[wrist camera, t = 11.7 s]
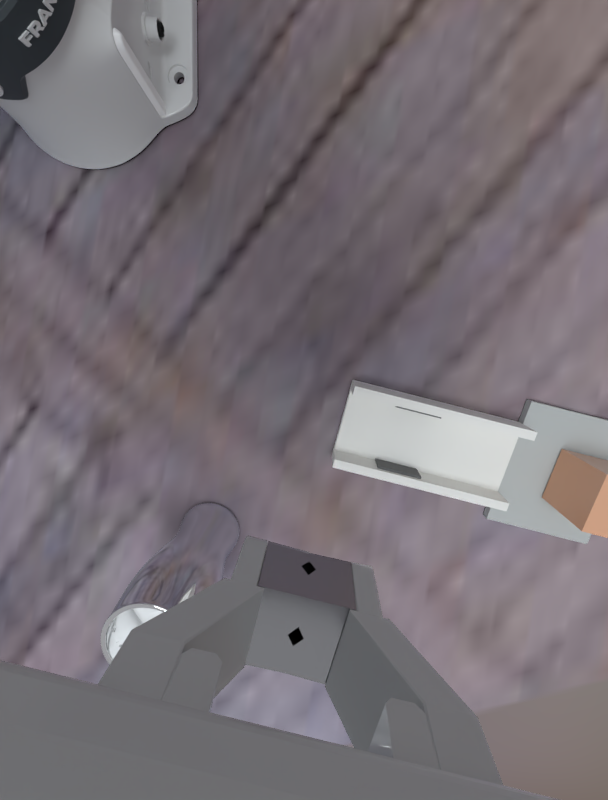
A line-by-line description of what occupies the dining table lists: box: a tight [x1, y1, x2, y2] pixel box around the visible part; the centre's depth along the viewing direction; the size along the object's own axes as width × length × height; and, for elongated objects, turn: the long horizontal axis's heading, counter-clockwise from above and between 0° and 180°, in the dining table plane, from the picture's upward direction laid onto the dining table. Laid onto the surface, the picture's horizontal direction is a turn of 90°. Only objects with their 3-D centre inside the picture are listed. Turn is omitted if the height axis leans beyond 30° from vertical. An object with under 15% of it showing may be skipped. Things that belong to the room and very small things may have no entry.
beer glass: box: [101, 503, 240, 665], centre depth 34 cm, size 7×7×15 cm
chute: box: [332, 379, 538, 511], centre depth 36 cm, size 8×16×4 cm, turn 76°
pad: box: [483, 399, 608, 544], centre depth 38 cm, size 12×10×1 cm
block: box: [542, 449, 608, 538], centre depth 34 cm, size 5×5×6 cm
